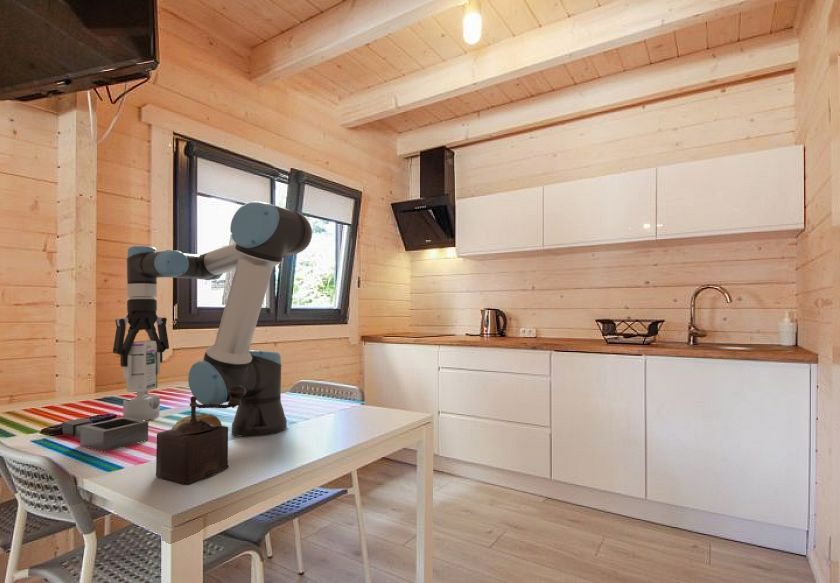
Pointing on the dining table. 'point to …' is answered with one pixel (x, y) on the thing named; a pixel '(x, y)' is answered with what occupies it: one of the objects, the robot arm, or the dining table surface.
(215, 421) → the bread roll
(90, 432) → the grey storage bin
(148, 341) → the syrup box
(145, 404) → the engine component
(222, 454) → the coffee grinder
